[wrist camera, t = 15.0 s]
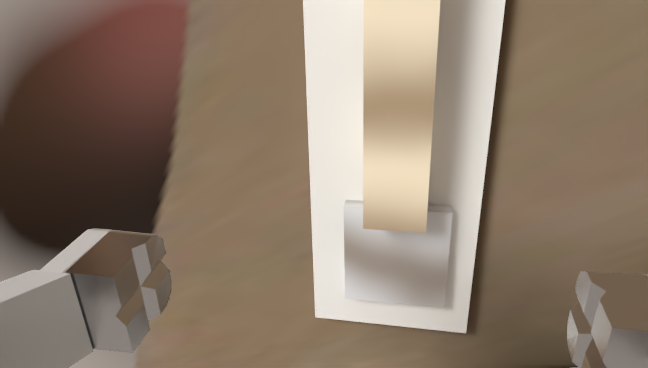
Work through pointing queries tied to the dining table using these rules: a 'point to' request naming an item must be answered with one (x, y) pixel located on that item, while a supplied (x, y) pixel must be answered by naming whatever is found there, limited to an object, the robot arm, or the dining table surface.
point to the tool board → (446, 150)
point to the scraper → (398, 163)
